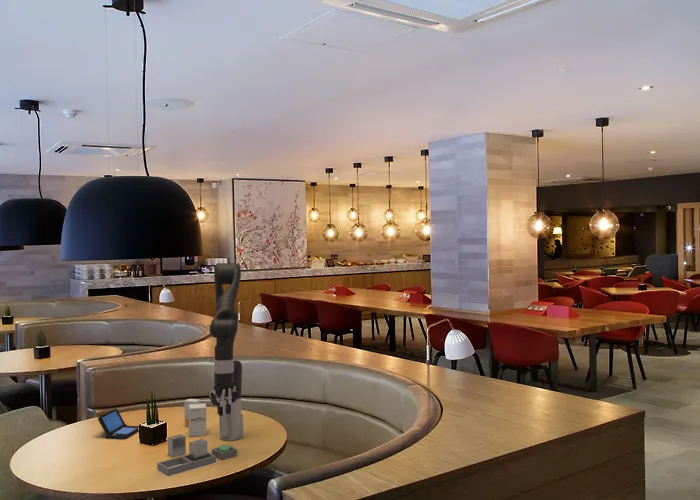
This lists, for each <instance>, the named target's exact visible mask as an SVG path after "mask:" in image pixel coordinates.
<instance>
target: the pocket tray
mask: <svg viewBox="0 0 700 500" xmlns="http://www.w3.org/2000/svg"><path fill="white" fill-rule="evenodd" d="M156 463H157V464H156V469H155V471H157V472H158V473H160V474H161V475H163V476H164V477H166V478H169V477H172V476H176V475H179V474H183V473H187V472H190V471H194V470H197V469H201V468H204V467H208V466H211V465H215V464H218V463H219V462H218V461H217V458H216V456H215V455H213V454H212V452H210V451H207V458H204V459H200V460H197V461H193V462H192V461H191V460H189V454H184V455H181V456H177V457H172V458H170V459H167V460H162V461H158V462H156Z"/></svg>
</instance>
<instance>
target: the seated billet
mask: <svg viewBox="0 0 700 500" xmlns="http://www.w3.org/2000/svg"><path fill="white" fill-rule="evenodd" d="M207 452H208V440H205V439H203V438H200V439H195V440H192V441H189V442H188V455H189V460H191V461H192V462H193V461H197V460H200V459H204V458H207Z"/></svg>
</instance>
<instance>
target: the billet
mask: <svg viewBox="0 0 700 500" xmlns="http://www.w3.org/2000/svg"><path fill="white" fill-rule="evenodd" d="M186 440H187V438H186V436H185V435H183V434H181V433H179V434H175V435H172V436H167V455H168V457H171V458H177V457H181V456H185V455H187V454H186V453H187V448H186V445H187V444H186V443H187V442H186Z"/></svg>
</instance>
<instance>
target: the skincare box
mask: <svg viewBox="0 0 700 500" xmlns="http://www.w3.org/2000/svg"><path fill="white" fill-rule="evenodd" d="M189 404H201V399H198V398H188V399H185V400H184V427H188V428H189Z"/></svg>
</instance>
